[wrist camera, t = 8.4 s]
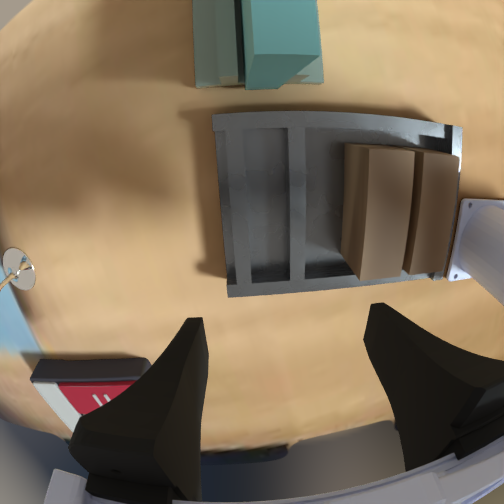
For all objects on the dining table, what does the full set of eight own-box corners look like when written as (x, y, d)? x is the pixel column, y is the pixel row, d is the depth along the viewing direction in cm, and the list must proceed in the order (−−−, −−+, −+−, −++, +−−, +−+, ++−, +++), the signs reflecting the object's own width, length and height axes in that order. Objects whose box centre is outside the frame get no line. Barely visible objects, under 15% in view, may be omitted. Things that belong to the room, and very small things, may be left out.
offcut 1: (384, 144, 18) (414, 151, 15) (376, 251, 21) (400, 276, 18) (344, 142, 18) (369, 148, 14) (340, 254, 21) (359, 281, 18)
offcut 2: (426, 148, 18) (459, 156, 15) (415, 248, 22) (442, 271, 18) (392, 145, 18) (424, 152, 15) (384, 250, 21) (409, 275, 18)
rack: (438, 124, 18) (462, 127, 16) (424, 263, 23) (442, 279, 21) (214, 115, 18) (211, 114, 15) (228, 279, 23) (227, 301, 20)
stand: (310, -14, 14) (325, -38, 10) (319, 84, 17) (338, 76, 14) (193, -12, 14) (185, -37, 10) (197, 88, 17) (188, 80, 13)
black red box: (180, 442, 28) (74, 439, 27) (182, 414, 32) (81, 415, 31) (141, 382, 23) (25, 382, 23) (149, 350, 27) (39, 357, 27)
